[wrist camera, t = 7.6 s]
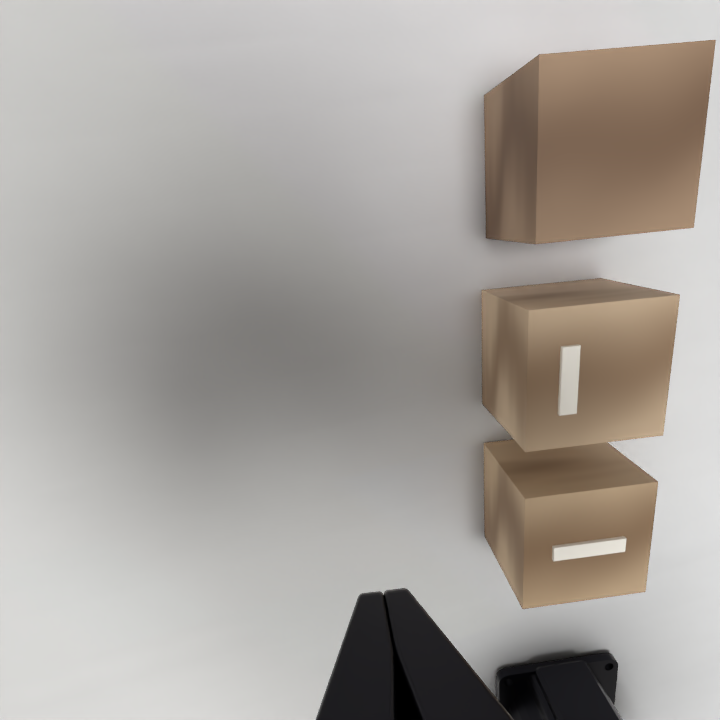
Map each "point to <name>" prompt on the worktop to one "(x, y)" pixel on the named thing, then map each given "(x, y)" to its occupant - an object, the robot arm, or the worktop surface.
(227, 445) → the worktop surface
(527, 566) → the block one
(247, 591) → the worktop surface
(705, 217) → the worktop surface
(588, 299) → the tan marked cube block
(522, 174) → the plain block
